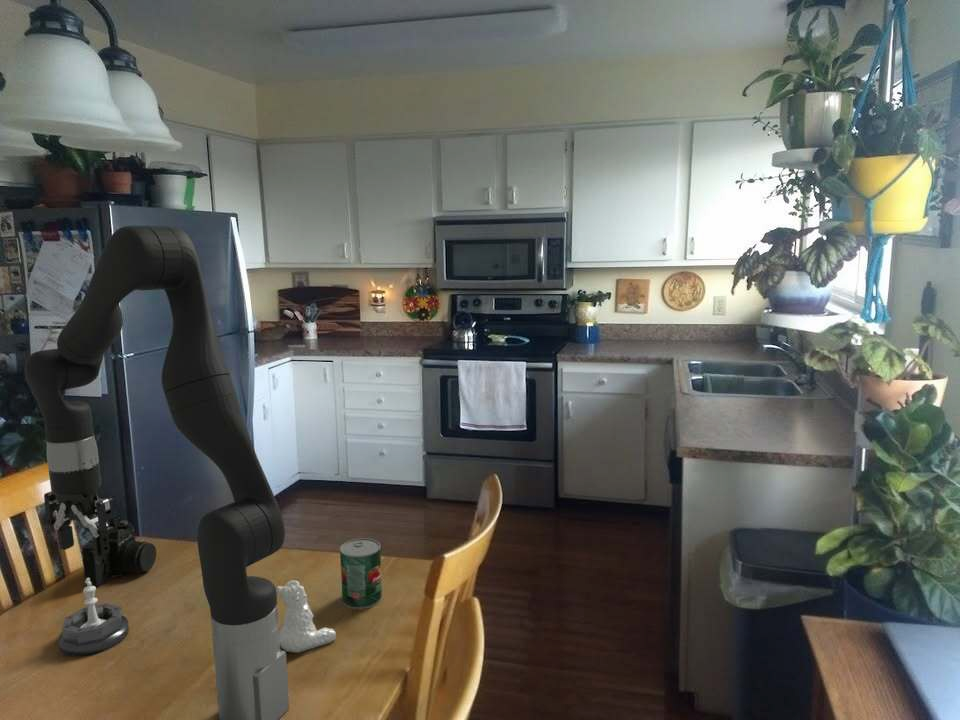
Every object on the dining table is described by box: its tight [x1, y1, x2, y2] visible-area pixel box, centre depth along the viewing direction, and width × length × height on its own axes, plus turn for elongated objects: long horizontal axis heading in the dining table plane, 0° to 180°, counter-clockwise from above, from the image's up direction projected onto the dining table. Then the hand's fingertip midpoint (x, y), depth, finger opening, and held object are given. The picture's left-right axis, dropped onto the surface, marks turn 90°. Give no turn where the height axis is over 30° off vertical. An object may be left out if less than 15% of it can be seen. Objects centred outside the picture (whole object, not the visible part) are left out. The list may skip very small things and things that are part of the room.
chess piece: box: [80, 578, 107, 629], centre depth 121 cm, size 5×5×10 cm
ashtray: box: [57, 603, 130, 657], centre depth 122 cm, size 11×11×4 cm
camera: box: [81, 519, 157, 589], centre depth 145 cm, size 14×11×10 cm
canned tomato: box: [339, 537, 383, 610], centre depth 134 cm, size 8×8×11 cm
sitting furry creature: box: [276, 579, 337, 654], centre depth 119 cm, size 10×9×12 cm
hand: (84, 551), depth 119 cm, fingers open, 8 cm apart
